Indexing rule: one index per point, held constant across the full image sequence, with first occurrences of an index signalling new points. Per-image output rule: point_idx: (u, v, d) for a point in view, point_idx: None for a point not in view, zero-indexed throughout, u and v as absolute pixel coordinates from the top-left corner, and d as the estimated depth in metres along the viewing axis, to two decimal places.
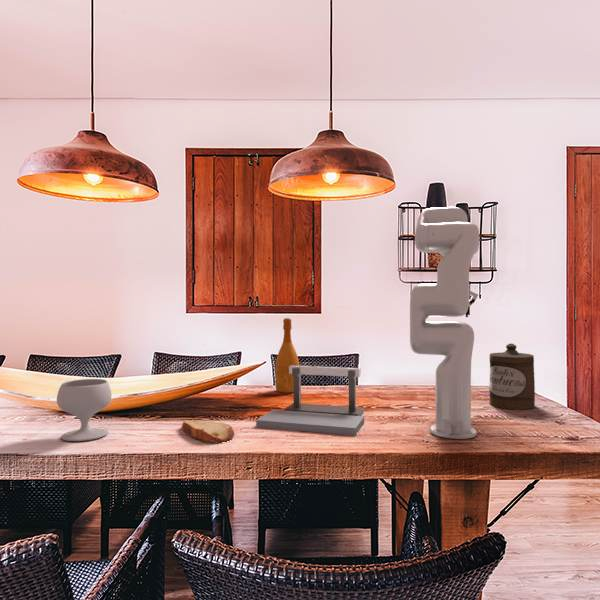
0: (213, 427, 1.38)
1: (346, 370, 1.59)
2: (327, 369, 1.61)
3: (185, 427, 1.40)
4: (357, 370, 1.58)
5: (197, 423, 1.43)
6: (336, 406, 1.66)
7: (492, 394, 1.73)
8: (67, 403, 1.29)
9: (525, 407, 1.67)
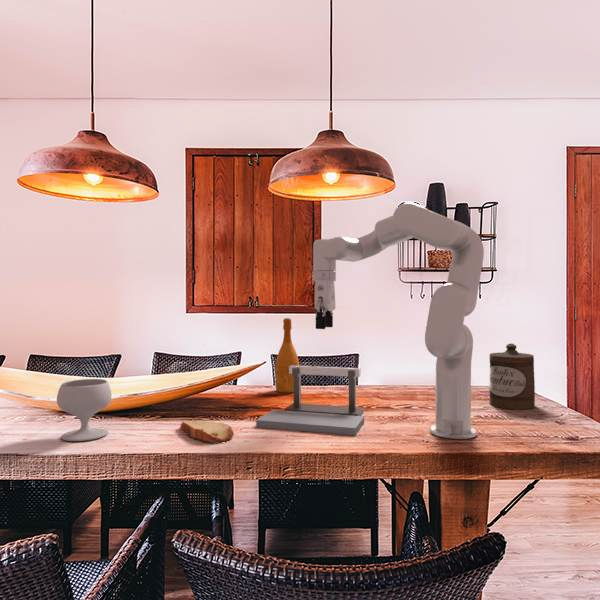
0: (212, 427, 1.38)
1: (346, 370, 1.59)
2: (327, 369, 1.61)
3: (184, 427, 1.39)
4: (357, 370, 1.58)
5: (196, 423, 1.43)
6: (336, 406, 1.66)
7: (492, 394, 1.73)
8: (67, 403, 1.29)
9: (525, 407, 1.67)
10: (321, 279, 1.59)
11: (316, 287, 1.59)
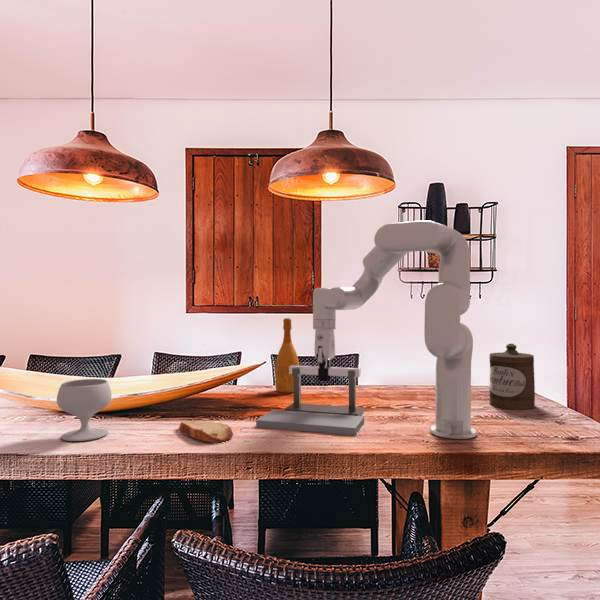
0: (211, 427, 1.38)
1: (346, 370, 1.59)
2: None
3: (183, 427, 1.39)
4: (357, 370, 1.58)
5: (195, 423, 1.43)
6: (336, 406, 1.66)
7: (492, 394, 1.73)
8: (67, 403, 1.29)
9: (525, 407, 1.67)
10: (321, 328, 1.59)
11: (316, 336, 1.59)
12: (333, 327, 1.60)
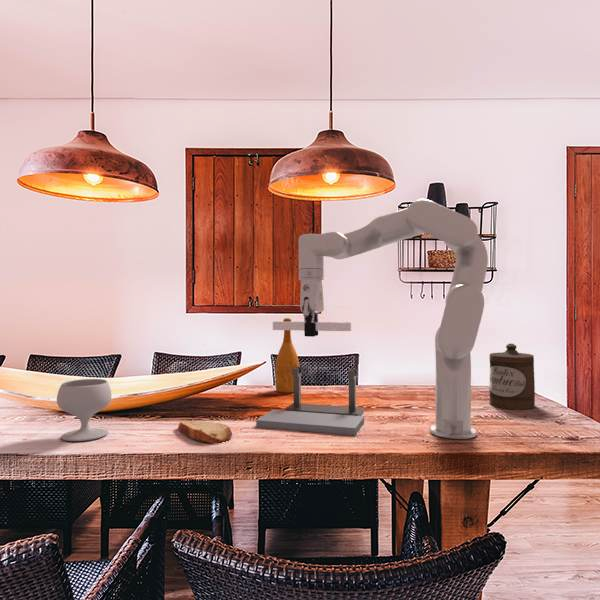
0: (210, 427, 1.38)
1: (335, 324, 1.44)
2: None
3: (182, 428, 1.39)
4: (347, 324, 1.43)
5: (194, 424, 1.43)
6: (336, 406, 1.66)
7: (492, 394, 1.73)
8: (67, 403, 1.29)
9: (525, 407, 1.67)
10: (307, 278, 1.44)
11: (301, 287, 1.44)
12: (321, 277, 1.45)
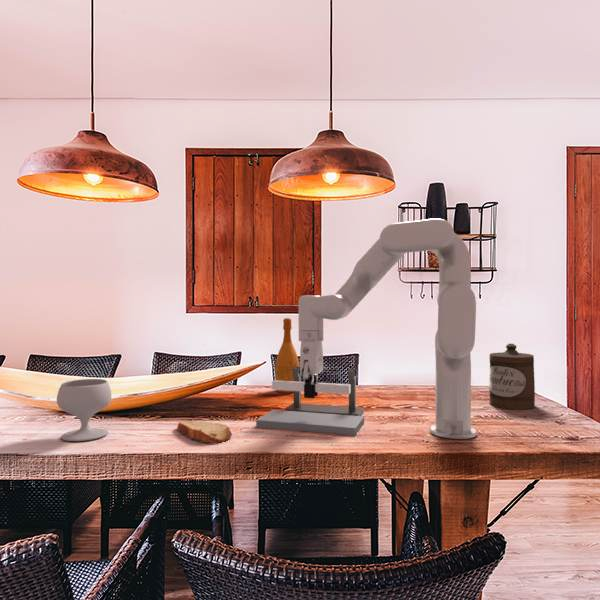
0: (210, 428, 1.38)
1: (334, 386, 1.44)
2: None
3: (181, 428, 1.39)
4: (346, 387, 1.43)
5: (193, 424, 1.43)
6: (336, 406, 1.66)
7: (492, 394, 1.73)
8: (67, 403, 1.29)
9: (525, 407, 1.67)
10: (307, 340, 1.44)
11: (301, 349, 1.43)
12: (320, 339, 1.45)
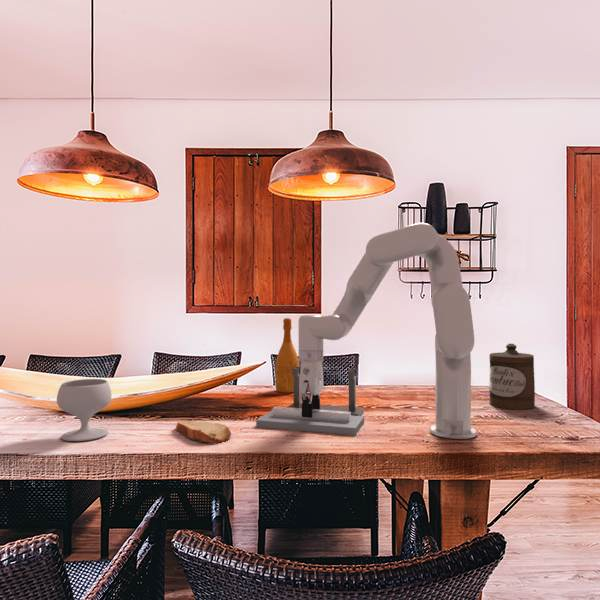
0: (209, 428, 1.38)
1: (335, 414, 1.44)
2: (314, 413, 1.46)
3: (180, 428, 1.38)
4: (347, 415, 1.43)
5: (192, 424, 1.42)
6: (336, 406, 1.66)
7: (492, 394, 1.73)
8: (67, 403, 1.29)
9: (525, 407, 1.67)
10: (307, 360, 1.44)
11: (301, 369, 1.44)
12: (320, 359, 1.45)
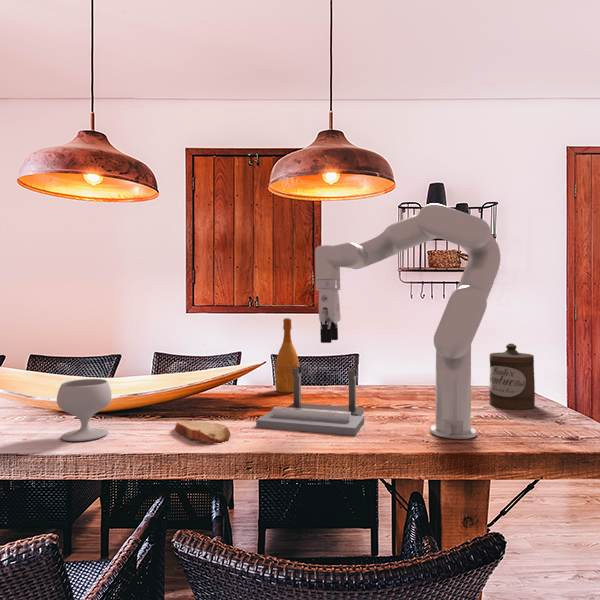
0: (208, 428, 1.38)
1: (335, 414, 1.44)
2: (314, 413, 1.46)
3: (179, 428, 1.38)
4: (347, 415, 1.43)
5: (191, 424, 1.42)
6: (336, 406, 1.66)
7: (492, 394, 1.73)
8: (67, 403, 1.29)
9: (525, 407, 1.67)
10: (325, 288, 1.46)
11: (320, 297, 1.46)
12: (338, 287, 1.48)
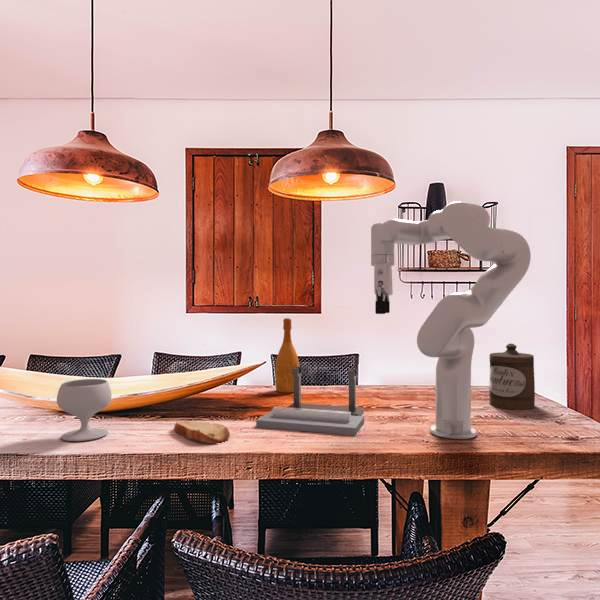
0: (207, 428, 1.37)
1: (335, 414, 1.44)
2: (314, 413, 1.46)
3: (178, 428, 1.38)
4: (347, 415, 1.43)
5: (190, 424, 1.42)
6: (336, 406, 1.66)
7: (492, 394, 1.73)
8: (67, 403, 1.29)
9: (525, 407, 1.67)
10: (380, 263, 1.56)
11: (375, 271, 1.56)
12: (392, 262, 1.57)
